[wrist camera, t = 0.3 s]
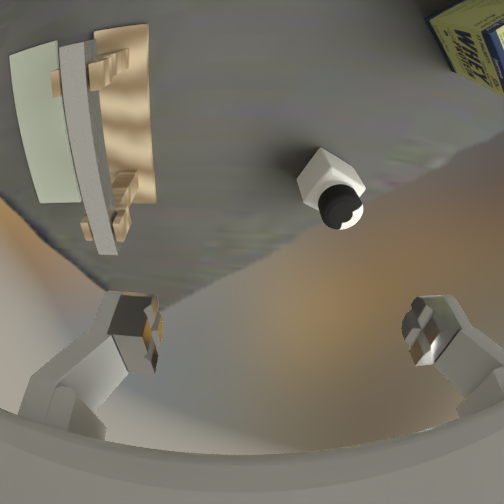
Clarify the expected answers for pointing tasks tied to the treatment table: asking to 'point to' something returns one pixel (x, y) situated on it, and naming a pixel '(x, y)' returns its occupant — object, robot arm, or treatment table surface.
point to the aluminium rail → (89, 143)
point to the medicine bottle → (332, 189)
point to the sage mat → (43, 124)
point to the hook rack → (122, 118)
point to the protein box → (473, 40)
